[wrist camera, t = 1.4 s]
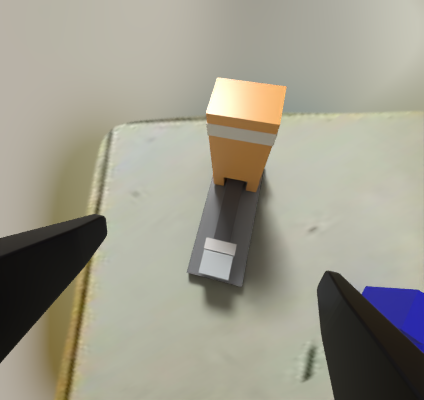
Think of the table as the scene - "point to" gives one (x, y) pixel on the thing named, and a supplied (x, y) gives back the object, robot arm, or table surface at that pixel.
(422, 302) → the cable clip
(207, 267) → the grey pronged base
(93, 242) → the robot arm
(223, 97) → the orange block
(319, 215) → the table surface
